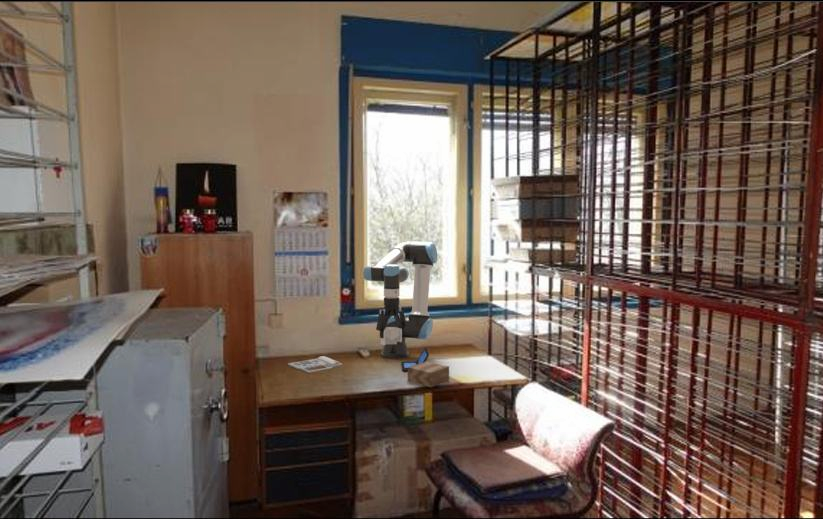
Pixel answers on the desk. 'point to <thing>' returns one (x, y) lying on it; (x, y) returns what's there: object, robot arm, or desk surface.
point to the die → (391, 335)
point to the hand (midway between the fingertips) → (391, 343)
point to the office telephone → (315, 364)
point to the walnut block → (428, 374)
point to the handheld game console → (421, 359)
